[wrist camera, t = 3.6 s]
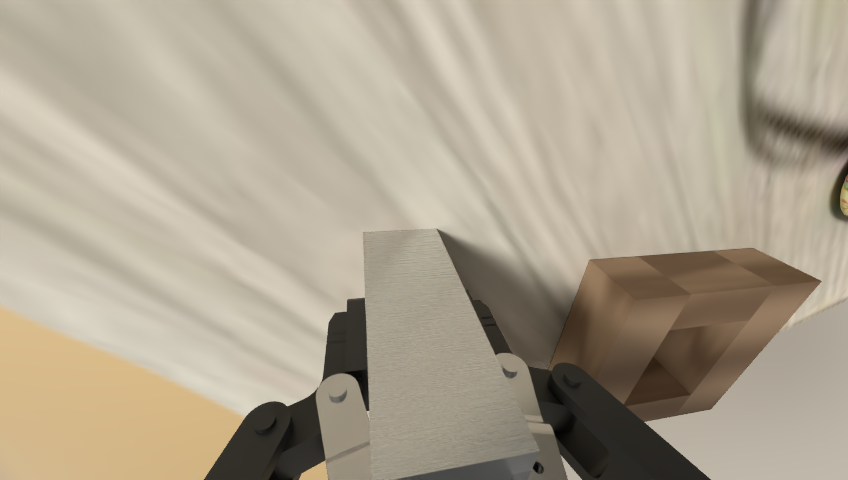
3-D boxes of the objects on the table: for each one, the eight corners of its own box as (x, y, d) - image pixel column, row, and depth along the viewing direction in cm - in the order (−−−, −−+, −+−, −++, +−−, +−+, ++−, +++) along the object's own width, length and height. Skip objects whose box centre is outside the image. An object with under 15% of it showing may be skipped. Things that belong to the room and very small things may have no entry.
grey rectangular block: (362, 232, 14) (371, 484, 6) (436, 228, 15) (540, 451, 7) (369, 343, 18) (380, 596, 10) (428, 337, 19) (487, 568, 10)
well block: (589, 260, 18) (636, 300, 15) (753, 248, 20) (821, 281, 17) (540, 389, 24) (566, 436, 21) (670, 369, 26) (710, 409, 23)
